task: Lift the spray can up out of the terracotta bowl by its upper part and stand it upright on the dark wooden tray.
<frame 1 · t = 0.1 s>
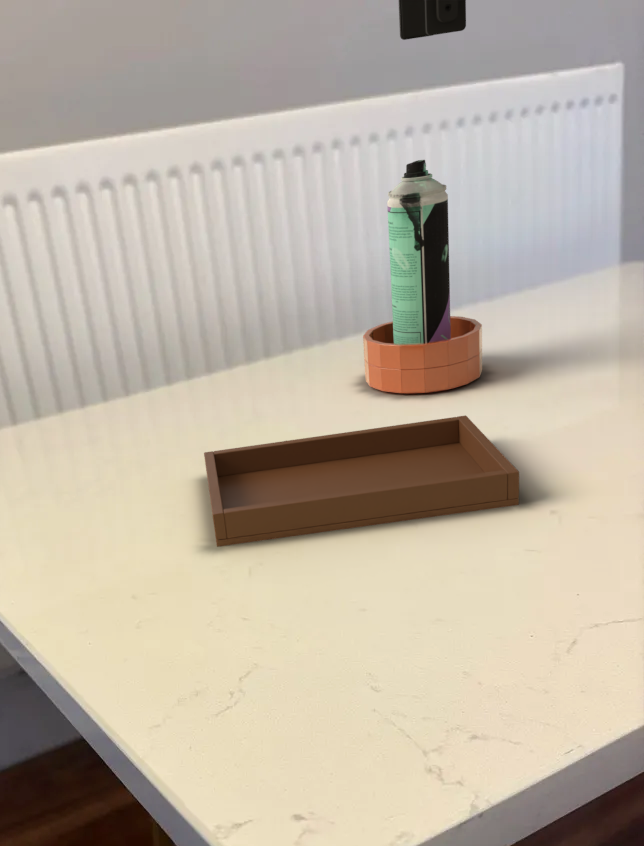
hand: (431, 35, 89), 30 cm above the table, tool pointing down, fingers open, 9 cm apart
tray: (350, 493, 79), on the table
spray can: (423, 377, 103), resting on bowl
bowl: (423, 379, 103), on the table
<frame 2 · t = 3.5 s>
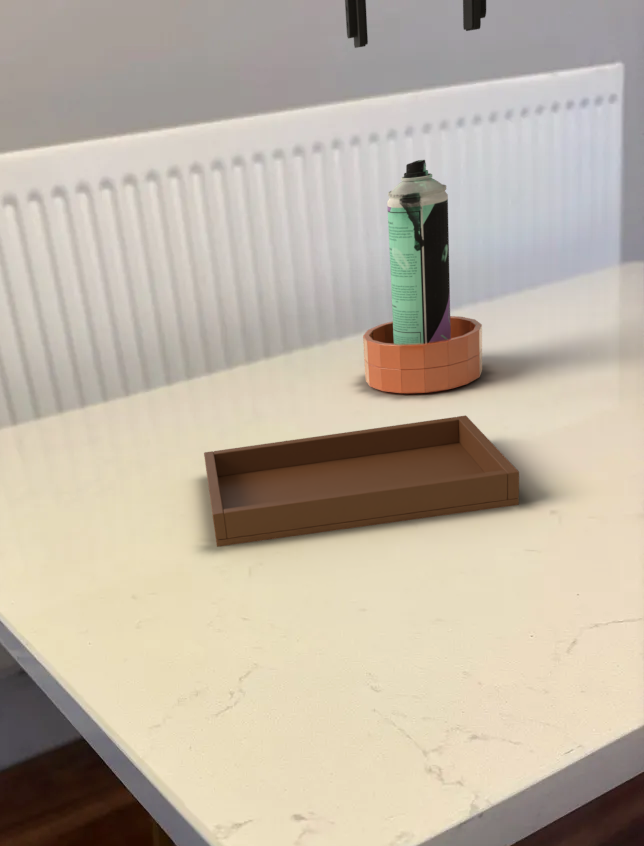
hand: (416, 38, 89), 30 cm above the table, tool pointing down, fingers open, 9 cm apart
nothing on the table moved.
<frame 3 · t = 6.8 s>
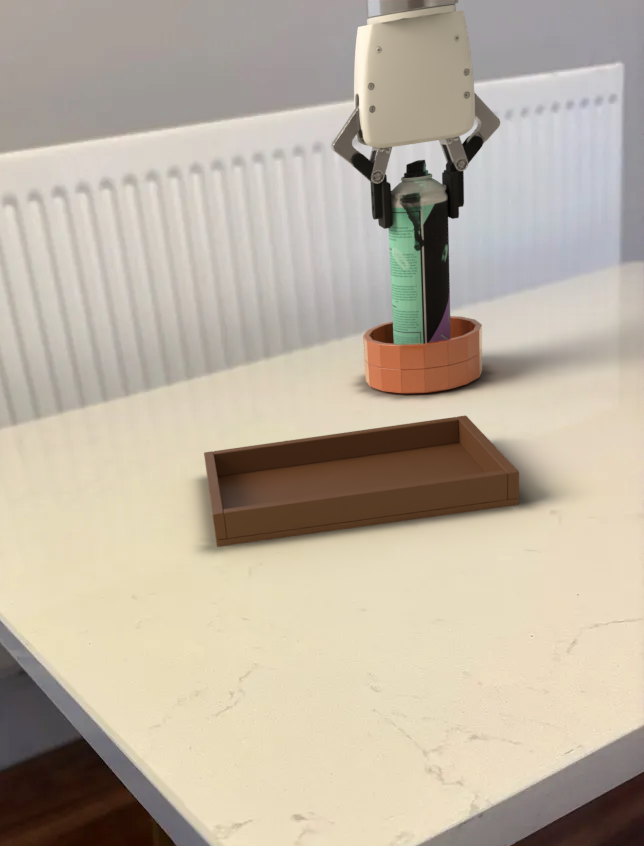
hand: (418, 219, 96), 15 cm above the table, tool pointing down, fingers closed on spray can, 5 cm apart
spray can: (423, 377, 103), resting on bowl, touching gripper
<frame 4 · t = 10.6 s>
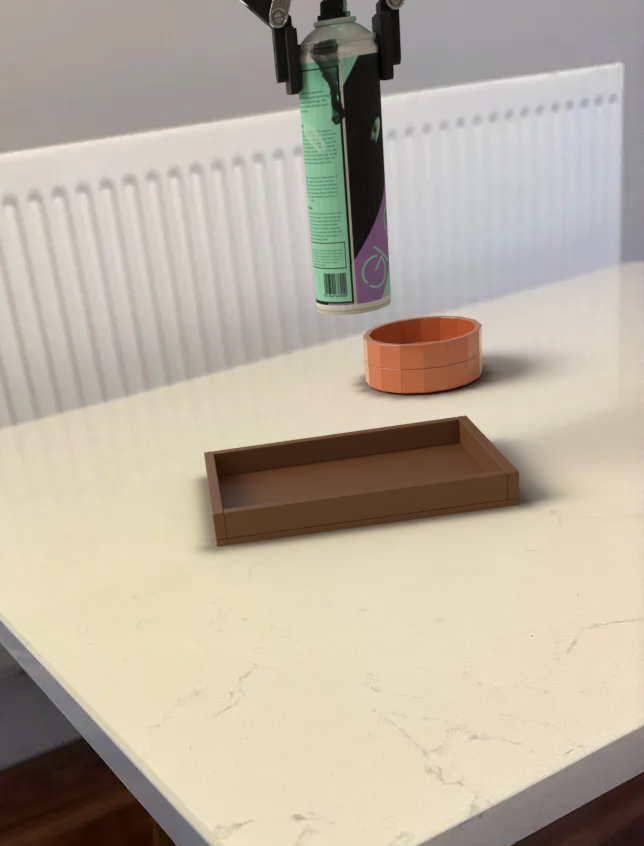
hand: (338, 83, 69), 28 cm above the table, tool pointing down, fingers closed on spray can, 5 cm apart
spray can: (353, 309, 76), point 13 cm above the table, touching gripper
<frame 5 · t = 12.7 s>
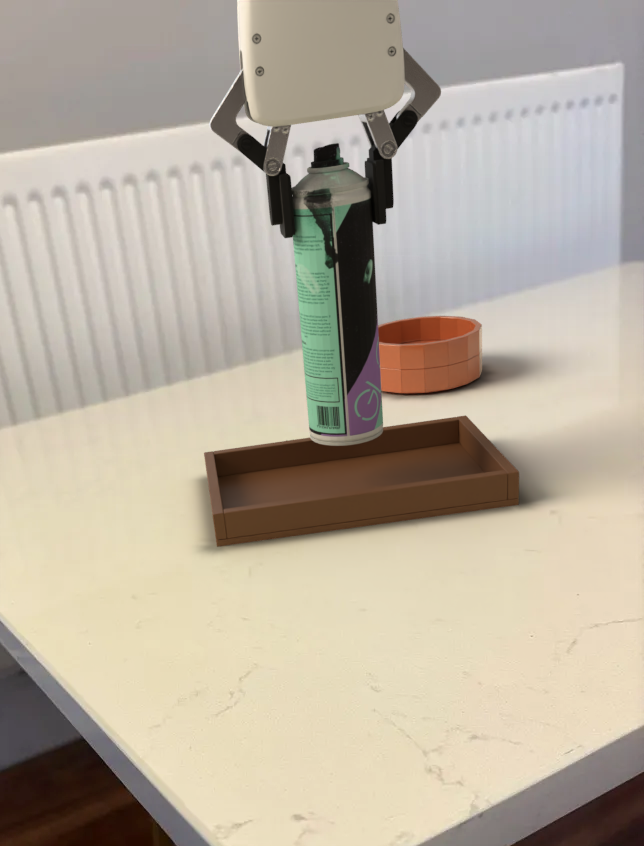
hand: (332, 225, 70), 20 cm above the table, tool pointing down, fingers closed on spray can, 5 cm apart
spray can: (346, 436, 77), point 5 cm above the table, touching gripper
when the fingers open (16 cm above the table, at t = 14.3 s): spray can stays where it is, resting on tray.
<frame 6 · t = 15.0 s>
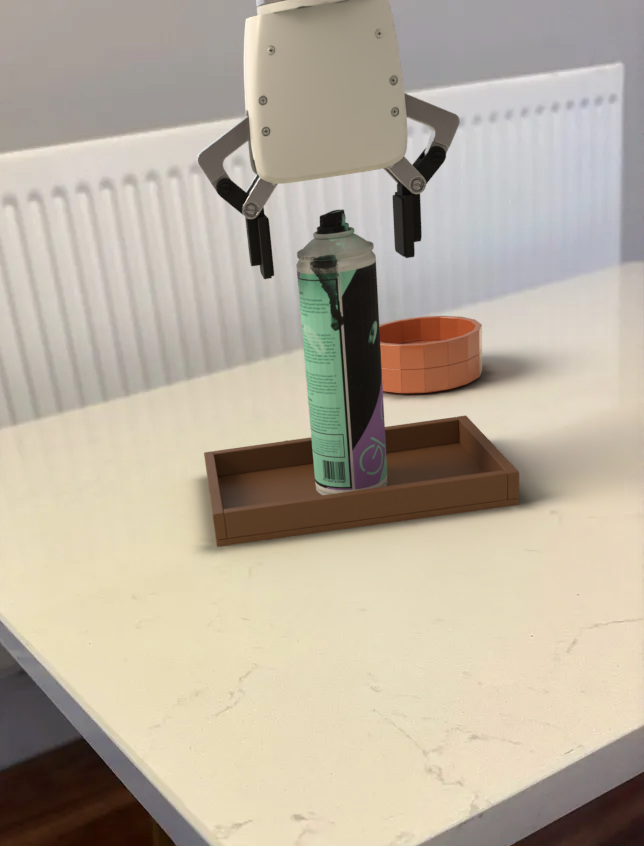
hand: (335, 265, 71), 17 cm above the table, tool pointing down, fingers open, 9 cm apart
spray can: (351, 487, 79), resting on tray
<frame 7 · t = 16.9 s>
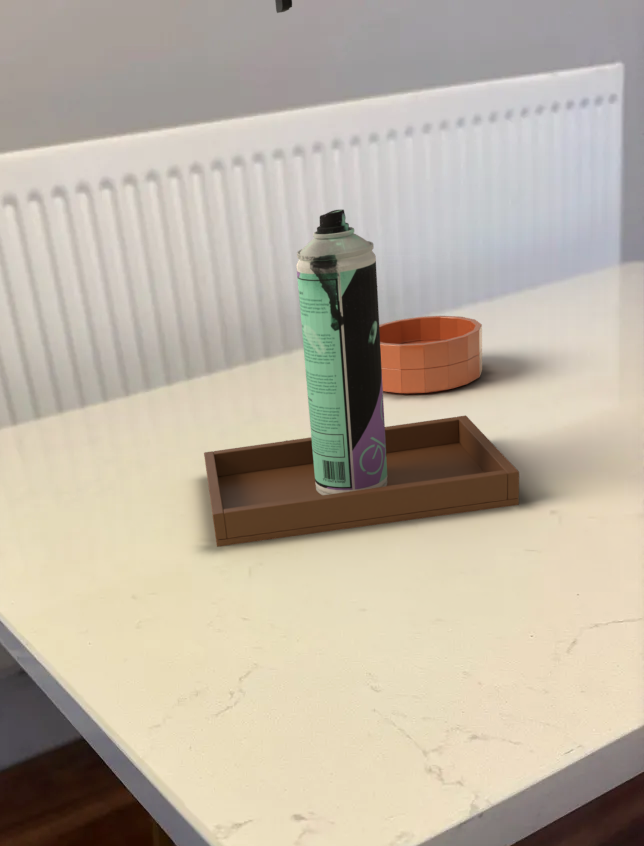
hand: (352, 0, 71), 33 cm above the table, tool pointing down, fingers open, 9 cm apart
nothing on the table moved.
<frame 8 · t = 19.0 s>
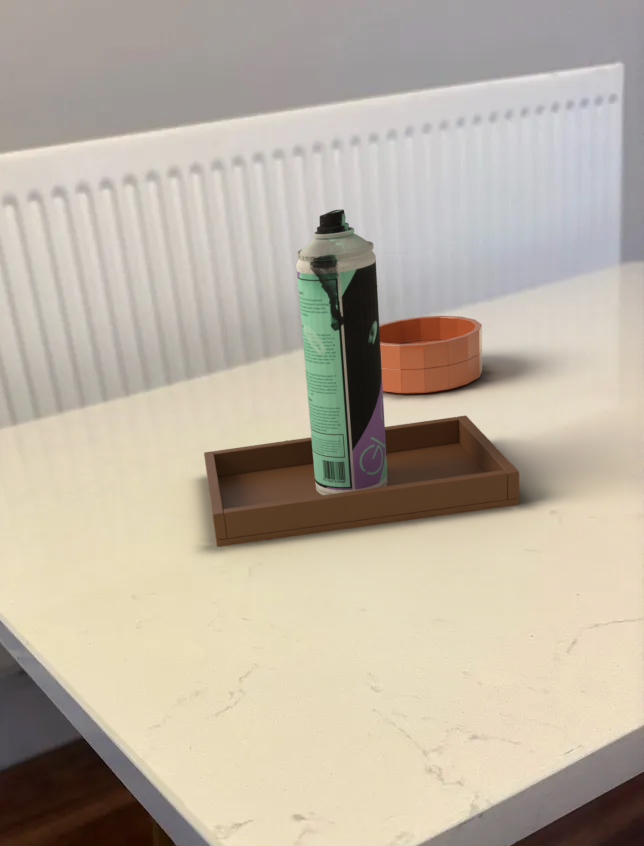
nothing on the table moved.
at the end: spray can inside the target area in the tray (0.1 cm from its centre), point 0.4 cm above the tray's base; spray can tilted 0°; spray can touching tray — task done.
